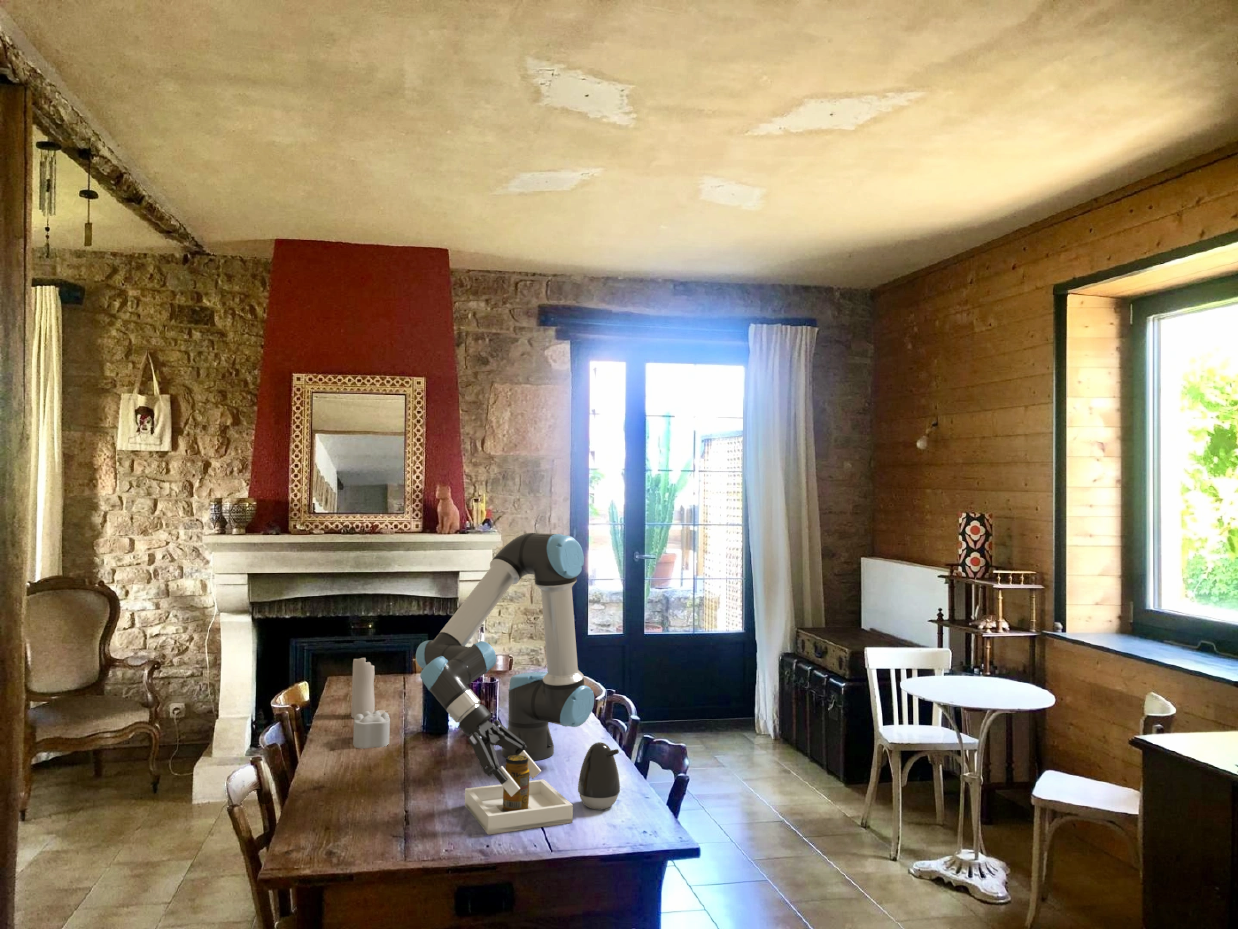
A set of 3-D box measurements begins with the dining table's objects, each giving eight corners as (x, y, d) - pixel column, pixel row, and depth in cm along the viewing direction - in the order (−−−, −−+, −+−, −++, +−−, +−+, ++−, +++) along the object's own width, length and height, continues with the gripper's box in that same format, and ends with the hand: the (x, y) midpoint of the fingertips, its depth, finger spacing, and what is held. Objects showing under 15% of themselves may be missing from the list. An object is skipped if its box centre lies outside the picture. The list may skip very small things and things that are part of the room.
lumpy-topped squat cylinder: (353, 749, 260) (354, 719, 261) (352, 737, 273) (353, 709, 273) (390, 746, 264) (391, 717, 264) (387, 735, 276) (388, 707, 276)
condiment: (524, 802, 215) (525, 752, 215) (537, 814, 207) (538, 762, 208) (495, 806, 212) (496, 755, 212) (507, 818, 204) (508, 765, 205)
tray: (543, 795, 223) (543, 779, 223) (572, 822, 205) (572, 805, 205) (464, 805, 215) (465, 788, 215) (488, 834, 197) (488, 816, 197)
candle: (393, 712, 305) (394, 653, 306) (361, 720, 294) (363, 659, 294) (378, 709, 309) (380, 651, 310) (346, 717, 297) (348, 656, 298)
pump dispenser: (605, 816, 209) (606, 751, 210) (569, 807, 215) (570, 744, 215) (628, 804, 218) (629, 741, 219) (592, 796, 224) (594, 734, 224)
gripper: (480, 712, 227) (535, 778, 222) (435, 737, 203) (494, 811, 198) (500, 692, 226) (555, 758, 221) (457, 715, 202) (517, 789, 197)
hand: (526, 783), depth 210 cm, fingers open, 13 cm apart
